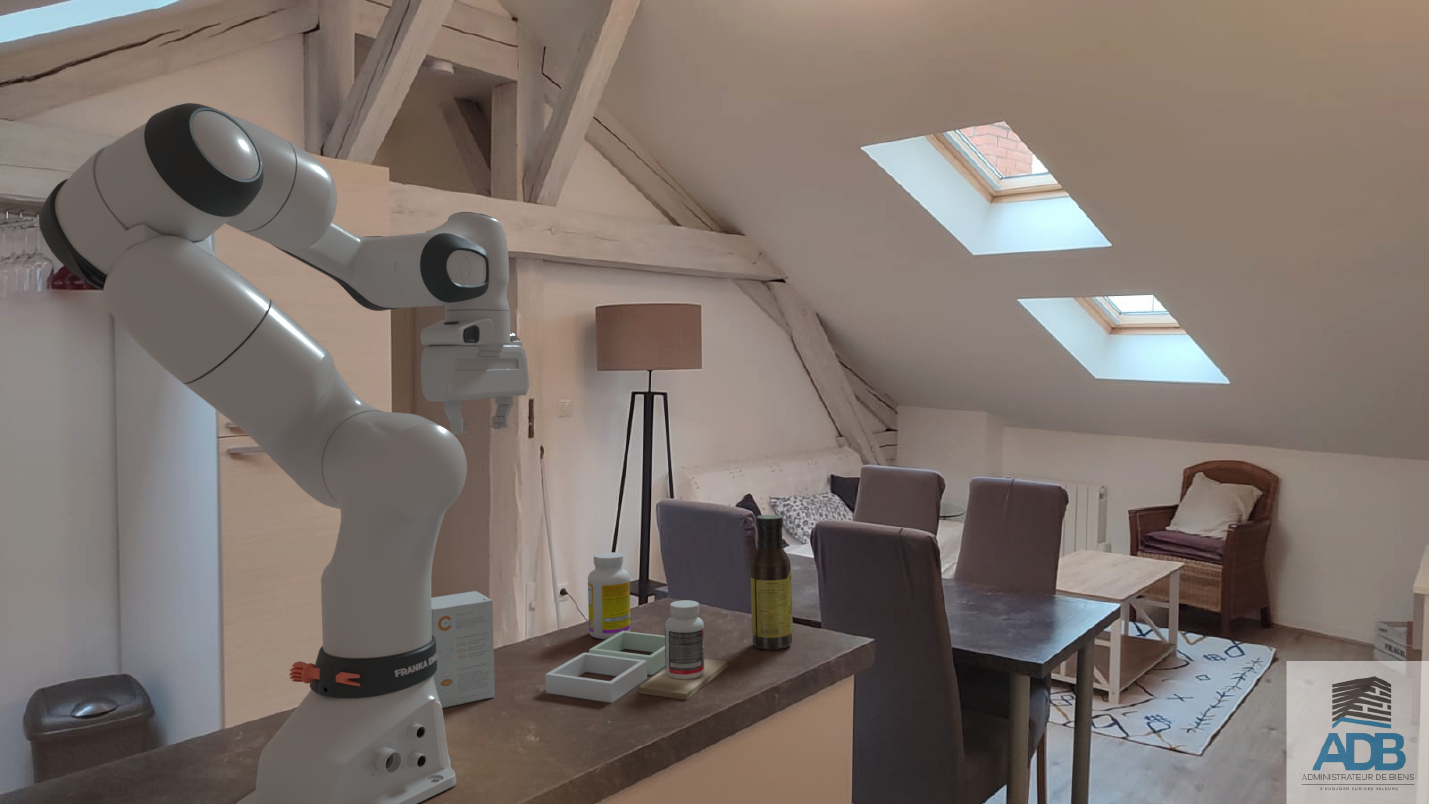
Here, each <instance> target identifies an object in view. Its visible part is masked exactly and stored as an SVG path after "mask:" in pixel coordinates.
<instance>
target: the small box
mask: <svg viewBox="0 0 1429 804" xmlns="http://www.w3.org/2000/svg"><path fill="white" fill-rule="evenodd" d="M431 609H432V635H433V636H434V637H435V638H436V649H437V650H438V658H437V671H436V672H435V673H434V681H435V686H436V690H437V693H438V696H439V699H440V702H441V705H442V709H444V708H450V707H453V706H458V705H462V704H467V703H473V702H477V701H481V700H485V699H490V698H495V693H496V691H495V651H494V650H495V649H494V646H495V645H494V616H493V615H494V614H493V612H494V611H493V610H494V609H493V600H492V599H490V598H489V597H487V596H486V595H484V594H482V593H481V592H478V591H477V590H472V591H466V592H462V593H453V594H448V595H441V596H434V597H431Z"/></svg>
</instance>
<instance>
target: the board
mask: <svg viewBox="0 0 1429 804" xmlns="http://www.w3.org/2000/svg"><path fill="white" fill-rule="evenodd" d="M727 668H728V661H726V660H725V661H724V660H717V659H709V658H704V673H703V674H702V675H701V676H699V677H697V678H693V679H676V678H672V677H669V676H668V675H667V674H666V668H665V667H664V668H662V670H660V671H658V673H655V675H654V676H653V675H652V677H651V678H650V679H647V680H645V682H644V683H643V682H642V683H641V684H640V685H638V694H643V695H644V694H645V695H650V696H658V697H664V698H665V697H666V698H672V699H678V700H685V701H688V699H690V698H691V697H692V696H694V695H695V694H696V693H697V692H698V691H700V690H701V689H702V688H703V687H705V686H706V685H708V683H710V682H711V681H712V680H713V679H714V678H716V677H717V676H718V675H719V674H721V673H722V672H724V670H726V669H727Z"/></svg>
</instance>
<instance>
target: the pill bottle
mask: <svg viewBox="0 0 1429 804" xmlns="http://www.w3.org/2000/svg"><path fill="white" fill-rule="evenodd" d="M699 614H700V603H699V602H697V601H695V600H688V599H687V600H686V599H684V600H682V599H681V600H675V601H673V602H671V603H670V604H669V615H670V616H671V617H669V618H668V619H667V620H666V621H665V623H664V636H665V666H664V669H665V668H666V674H667V675H668V676H669V677H672V678H676V679H693V678H697V677H699V676H701V675H702V674H703V673H704V659H705V623H704V621H703V619H702V618H700V617H698V616H699Z"/></svg>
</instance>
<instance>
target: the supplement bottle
mask: <svg viewBox="0 0 1429 804" xmlns="http://www.w3.org/2000/svg"><path fill="white" fill-rule="evenodd" d="M623 563H624V554H623V553H622V552H621V553H620V552H612V551H610V552H609V551H608V552H607V551H605V552H599V553H596V554H594V555H593V564H594V569H593V570H592V571H590V572H589V574H588V576H587V593H588V594H587V596H588V597H587V598H588V599H587V600H588V603H587V604H588V607H587V608H588V609H587V610H588V633H589V635H590V636H591V637H592V638H595V639H598V640H607V639H609V638H610V637H612V636H614V635H616V634H617V633H619V632H621V631H629V632H631V591H630V589H631V587H630V585H631V581H630V579H631V578H630V574H629V572H628V571H627V570H626V569H624V568H623V566H622V565H623Z"/></svg>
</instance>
